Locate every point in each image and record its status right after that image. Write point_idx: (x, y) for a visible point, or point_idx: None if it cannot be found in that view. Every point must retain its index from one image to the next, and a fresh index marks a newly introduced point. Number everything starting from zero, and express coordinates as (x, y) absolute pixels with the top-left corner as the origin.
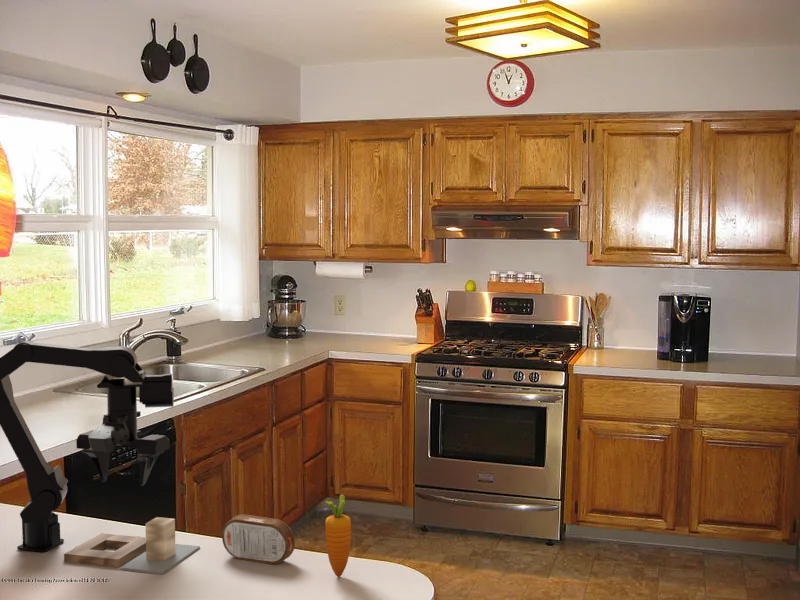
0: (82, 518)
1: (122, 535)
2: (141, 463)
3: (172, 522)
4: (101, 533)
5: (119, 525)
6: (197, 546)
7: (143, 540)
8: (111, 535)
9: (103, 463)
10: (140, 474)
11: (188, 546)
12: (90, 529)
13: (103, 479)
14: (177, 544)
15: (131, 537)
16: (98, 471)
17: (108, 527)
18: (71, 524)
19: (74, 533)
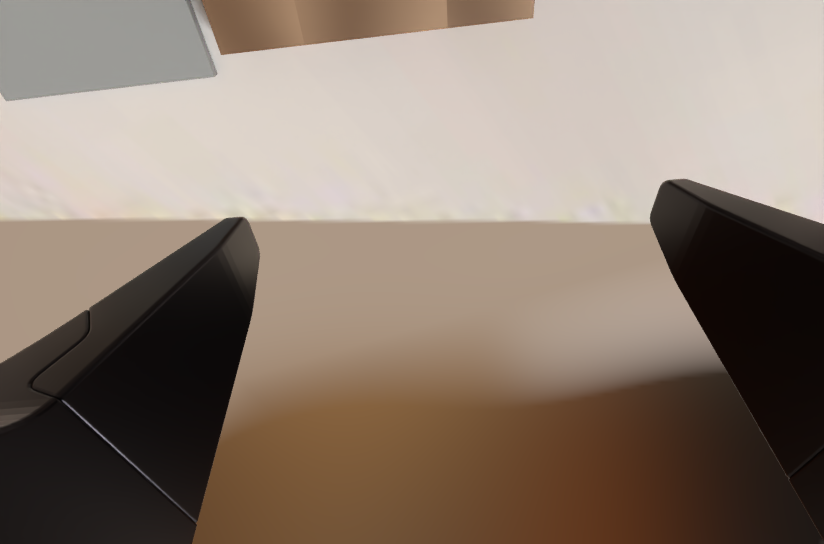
0: None
1: (401, 30)
2: (32, 392)
3: None
4: (531, 15)
5: (545, 201)
6: (10, 93)
7: (235, 2)
8: (457, 5)
9: (793, 328)
10: (177, 274)
11: (43, 76)
12: (648, 123)
13: (675, 192)
14: (115, 81)
15: (333, 21)
16: (791, 217)
17: (579, 169)
18: (758, 144)
19: (706, 49)
